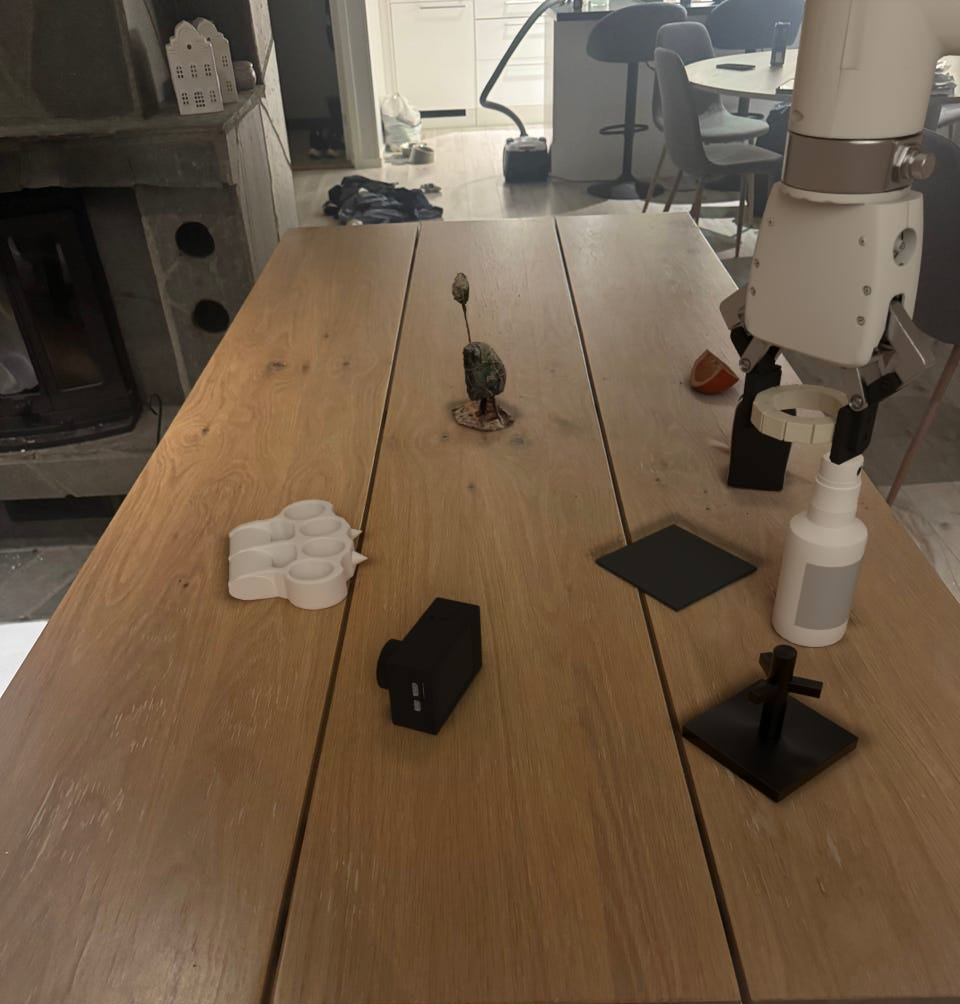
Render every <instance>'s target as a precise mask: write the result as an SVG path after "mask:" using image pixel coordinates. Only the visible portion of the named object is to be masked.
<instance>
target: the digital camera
mask: <svg viewBox="0 0 960 1004" xmlns="http://www.w3.org/2000/svg"><path fill="white" fill-rule="evenodd" d="M481 622H482V621H481V606H480V605H478V604H475V603H468V602H464V601H459V600H455V599H450V598H444V597H441V596H437V597H436V598H434V599H433V601H432V602H431V603H430V605H429V606H428V607H427V608H426V610H425V611H424V612H423V614H421V616H420V617H419V619H417V621H416V622H415V623H414V625H413V626H412V627H411V628H410V630H409V631H408V632H407V634H406V635H405V636H404V638H403V639H402V640H400V639H396V638H391V639H388V640H387V641H386V642H385V644H384V645H383V647H382V648H381V650H380V652H379V655H378V659H377V663H376V669H375V679H376V684H377V685H378V687H379V688H380V689H382V690H388V697H389V704H390V713H391V720H392V724H393V725H395V726H399V727H403V728H406V729H411V730H414V731H417V732H422V733H425V734H430V735H432V736H438V734H439V733H440V731H441V729H442V728H443V726H444V725H445V724H446V722H447V720H448V719H449V717H450V716H451V714H452V713H453V711H454V710H455V709H456V707H457V705H458V704H459V702H460V701H461V699H462V698H463V696H464V694H465V693H466V691H467V690H468V688H469V687H470V685H471V684H472V682H473V681H474V679H475V678H476V676H477V675H478V674H479V672H480V670H481V669H482V668H483V645H482V625H481V624H482V623H481Z"/></svg>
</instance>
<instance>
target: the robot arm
mask: <svg viewBox="0 0 960 1004" xmlns="http://www.w3.org/2000/svg"><path fill="white" fill-rule="evenodd" d="M800 27H801V28H800V34H799V41H798V42H799V44H798V50H797V58H796V65H795V71H794V79H793V85H792V93H791V101H790V109H789V116H788V122H787V123H788V124H787V131H786V137H785V145H784V151H783V152H784V153H783V160H782V167H781V173H780V174H781V175H780V180H778V181H776V182H774V184H773V185H772V187H771V190H770V193H769V196H768V199H767V201H766V204H765V208H764V211H763V214H762V218H761V220H760V224H759V228H758V233H757V238H756V241H755V245H754V250H753V254H752V259H751V265H750V270H749V274H748V280H747V282H746V283H745V284H744V285H742V286H741V287H739V288H738V289H737V290H735V291H734V292H732V293H731V294H730V295H729V296H727V297H726V298H724V299H723V300H721V302H720V304H719V312H720V315H721V316H722V319H723V321H724V322H725V323H724V324H725V325H726V327H727V329H728V331H730V333H729V339H730V341H731V343H732V345H733V347H734V349H735V351H736V352H737V354H738V356H739V360H738V367H739V370H740V371H741V372H742V373H743V374H745V375H744V376H745V377H744V385H743V390H742V391H743V392H742V394H743V399H742V414H741V422H740V426H741V427H743V428H745V429H750V428H753V427H755V426H754V424H753V423H752V422H751V415H752V408H753V402H754V400H755V398H756V395H757V394H758V393H760V392H762V391H764V390H767V389H769V388H772V387H776V386H781V383H782V382H781V381H782V376H783V370H782V367H783V366H782V365H781V364H778V363H776V362H777V360H778V359H779V357H780V356H781V355H782V353H783V351H784V350H786V351H789V352H793V353H796V354H799V355H802V356H805V357H808V358H812V359H815V360H818V361H821V362H824V363H827V364H831V365H835V366H838V367H839V369H840V373H841V377H842V382H843V386H844V391H845V393H846V395H847V399H848V405H845V406H843V407H841V408H840V409H839V411H838V415H837V420H836V425H835V431H834V436H833V441H832V443H831V447H830V450H829V452H830V456H829V459H830V460H831V462H832V463H834V464H837V465H840V464H842V463H844V462H846V461H848V460H851V459H853V458H855V457H857V456H859V455H861V454H862V455H863V454H864V452H865V451H866V450H867V449H868V448H869V446H870V444H871V441H872V437H873V433H874V428H875V424H876V420H877V419H876V418H877V415H878V409H879V405H880V403H881V402H884V401H885V400H887V399H888V398H889V397H891V396H892V395H895V394H896V393H898V392H900V391H901V390H902V389H905V388H906V387H907V386H909V384H910V383H912V382H914V381H915V380H916V379H917V378H919V377H920V376H922V375H923V374H925V373H926V372H927V371H928V370H930V369H931V368H933V367H934V366H935V364H936V362H937V357H936V355H935V353H934V352H933V350H932V348H931V347H930V345H929V344H928V342H927V341H926V339H925V337H924V336H923V334H922V333H921V332H920V330H919V329H918V327H917V325H916V324H915V323H914V321H913V316H914V313H915V305H916V300H917V293H918V288H919V287H918V286H919V280H920V279H919V278H920V273H921V264H922V254H923V244H924V243H923V241H924V193H922V192H920V191H917V190H912V189H911V188H912V185H914V184H915V181H916V180H917V179H919V180H926V179H929V178H930V177H931V176H932V174H933V173H934V170H935V169H936V168H935V167H936V165H937V164H936V163H937V156H936V154H935V153H933V152H926V151H925V150H924V148H923V143H924V138H925V134H923V130H924V127H925V123H926V117H927V114H928V113H927V112H928V109H929V108H928V107H929V104H930V98H931V95H932V94H931V93H932V89H933V85H934V80H935V75H936V70H937V66H938V61H939V60H941V59H943V58H944V57H948V56H949V57H950V56H952V57H953V56H954V57H960V0H804V6H803V13H802V21H801V26H800ZM893 354H897V356H898V363H897V364H896V365H895V366H894V367H893V368H892V369H891V370H889V371H888V372H887V371H886V370H887V369H886V366H885V361H884V357H883V355H893Z"/></svg>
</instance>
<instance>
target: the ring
mask: <svg viewBox="0 0 960 1004" xmlns="http://www.w3.org/2000/svg"><path fill="white" fill-rule="evenodd" d="M845 405H848V399H847V395H846V392H843V391H840V390H837V389H835V388H832V387H829V386H828V387H826V386H825V385H816V384H807V383H801V384H799V383H794V384H782V385H781V384H780V386H776V387H772V388H769V389H767V390H764V391H762V392H760V393H758V394H757V395H756V398H755V400H754V402H753V408H752V415H751V422H752V423H753V424H754V426H755V427H756V428H757V429H758V430H759V431H760V432H761V431H762V433H763V434H766V435H768V436H771V437H773V438H776V439H779V440H783V439H784V441H788V442H793V443H794V444H795V443H796V444H804V445H810V444H811V445H820V444H830V443H831V444H832V441H833V436H834V431H835V425H836V420H837V415H838V411H839V409H840V408H841V407H843V406H845ZM795 408H797V409H801V410H802V409H803V410H810V411H818V412H821V413H824V414H826V415H829V416H818V417H805V416H798V415H797V416H792V415H789V414H786V413H784V412H781V411H780V410H784V409H795Z"/></svg>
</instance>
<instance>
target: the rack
mask: <svg viewBox="0 0 960 1004" xmlns="http://www.w3.org/2000/svg"><path fill="white" fill-rule="evenodd" d="M797 659H798V650H797V648H795V647H794V646H792V645H789V644H778V645H776V646H775V647H773V650H772V651H767V652H760V653H759V658H758V664H759V665H760V667H761V669H762V671H763V672H764V674H765V676H766V679H764V678H760V679H759V680H756V681H755V682H753V683H752V684H750V685H748V686H747V687H745V688H743V689H742V690H740V691H738V692H737V693H735V694H733V695H732V696H730V697H728V698H727V699H725V700H723V701H722V702H720V703H718V704H717V705H715V706H713V707H712V708H710V709H709V710H706V711H705V712H703V713H702V714H700V715H698V716H697V717H695V718H694V719H692V720H690V721H688V722H687V723H685V724H683V725H682V731H681V737H682V738H684V739H686V741H688V742H689V743H691V744H692V745H694V746H695V747H696V748H698V749H699V750H701V751H702V752H704V753H705V754H707V755H708V756H709V757H710V758H712V759H714V760H715V761H716V762H718V763H719V764H720V765H722V766H723V767H724V768H726V769H727V770H729V771H730V772H731V773H733V774H735V775H736V776H737V777H739V778H740V779H741V780H743V781H744V782H746V783H747V784H748V785H750V786H751V787H752V788H754V789H755V790H757V791H758V792H760V793H761V794H763V795H764V796H765V797H767V798H768V799H769V800H770V801H772V802H774V803H775V804H778V803H780V802H781V801H783V800H784V799H786V797H788V796H790V795H791V794H792V793H794V792H795V791H797V790H798V789H799V788H802V786H804V785H805V784H807V783H808V782H810V781H812V779H814V778H816V777H817V776H818V775H820V774H821V773H822V772H825V770H827V769H828V768H830V767H831V766H832V765H834V764H835V763H837V762H838V761H840V760H841V759H842V758H844V757H845V756H847V755H849V754H850V753H851V752H852V751H854V750H855V749H856V748H857V746H858V743H859V739H860V737H859V736H857V735H855V734H854V733H852V732H851V731H849V730H847V729H846V728H844V727H843V726H841V725H840V724H838V723H836V722H834V721H832V719H829V718H827V717H826V716H824V715H823V714H821V713H820V712H818V711H816V710H814V709H813V708H812V707H810V706H808V705H807V704H805V703H803V702H802V701H800V700H798V699H797V698H795V697H794V696H792V695H790V693H791V694H796V695H800V696H806V697H810V698H813V699H818V700H819V699H821V695H822V691H823V686H824V682H823V681H820V680H816V679H810V678H805V677H801V676H797V675H794V673H795V668H796V662H797Z"/></svg>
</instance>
